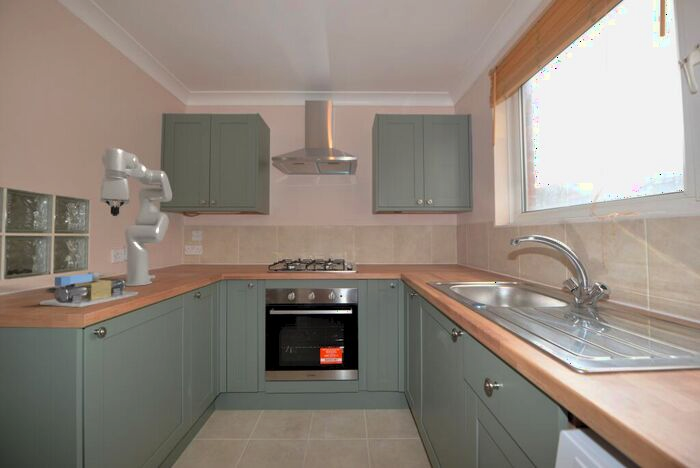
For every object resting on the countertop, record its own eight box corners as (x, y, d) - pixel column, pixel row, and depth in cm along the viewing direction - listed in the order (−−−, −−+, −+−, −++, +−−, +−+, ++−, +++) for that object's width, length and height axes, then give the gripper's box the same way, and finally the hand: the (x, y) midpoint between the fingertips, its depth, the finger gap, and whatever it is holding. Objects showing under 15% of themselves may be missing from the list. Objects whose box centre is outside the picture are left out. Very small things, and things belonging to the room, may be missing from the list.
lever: (94, 280, 124) (94, 271, 124) (101, 280, 124) (101, 271, 124) (53, 285, 110) (53, 276, 110) (62, 286, 109) (62, 276, 109)
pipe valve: (103, 293, 135) (104, 276, 136) (137, 294, 132) (138, 277, 132) (40, 304, 112) (40, 284, 112) (79, 307, 109) (80, 286, 109)
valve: (114, 295, 142) (80, 296, 127) (71, 295, 147) (34, 296, 133) (116, 281, 143) (82, 281, 128) (73, 282, 148) (36, 281, 134)
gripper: (135, 179, 145) (135, 217, 145) (95, 175, 136) (94, 215, 136) (135, 176, 139) (134, 216, 138) (93, 172, 130) (92, 214, 130)
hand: (114, 215), depth 137 cm, fingers closed
